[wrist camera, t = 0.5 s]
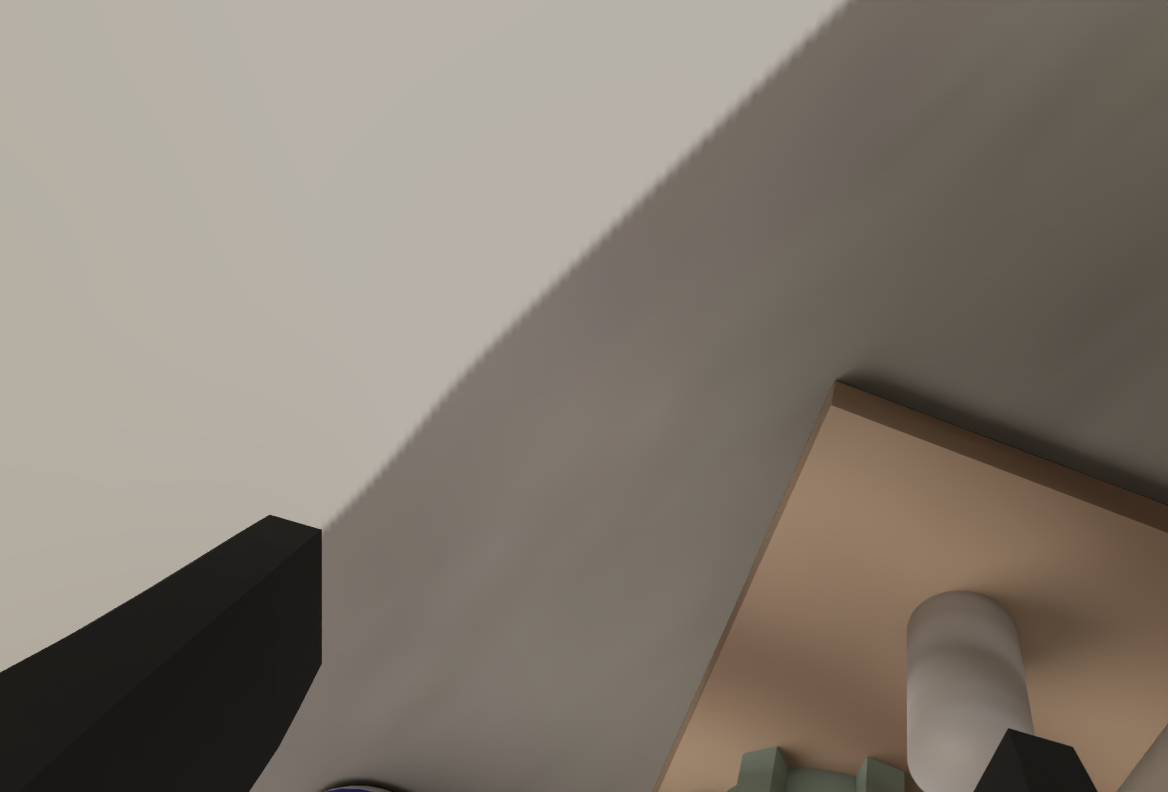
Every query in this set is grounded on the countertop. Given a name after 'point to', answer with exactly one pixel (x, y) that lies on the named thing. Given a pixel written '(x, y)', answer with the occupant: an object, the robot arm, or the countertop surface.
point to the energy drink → (357, 789)
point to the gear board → (913, 542)
